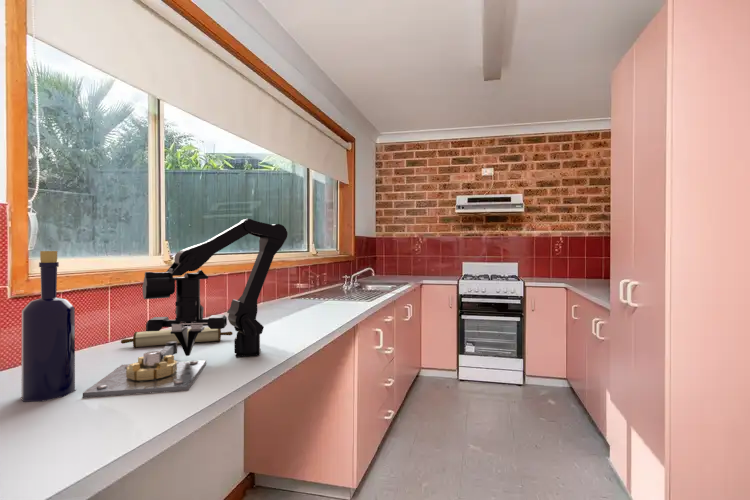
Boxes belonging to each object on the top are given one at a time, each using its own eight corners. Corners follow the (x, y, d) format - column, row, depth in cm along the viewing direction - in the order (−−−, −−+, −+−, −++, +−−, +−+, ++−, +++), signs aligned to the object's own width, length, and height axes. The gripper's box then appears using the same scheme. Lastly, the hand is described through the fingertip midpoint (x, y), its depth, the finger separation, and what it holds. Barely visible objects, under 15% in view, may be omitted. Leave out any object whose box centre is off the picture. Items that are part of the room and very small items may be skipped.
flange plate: (206, 363, 105) (206, 341, 105) (188, 390, 85) (188, 362, 85) (122, 368, 101) (122, 345, 100) (82, 397, 81) (82, 368, 81)
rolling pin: (232, 338, 135) (232, 324, 135) (232, 342, 130) (232, 327, 130) (123, 346, 124) (123, 330, 124) (118, 351, 119) (118, 334, 119)
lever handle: (192, 352, 111) (192, 340, 111) (169, 378, 89) (169, 362, 89) (153, 354, 109) (153, 342, 109) (120, 381, 87) (120, 365, 87)
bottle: (86, 389, 86) (86, 251, 86) (38, 404, 77) (38, 251, 77) (57, 384, 89) (57, 250, 89) (8, 398, 80) (8, 251, 80)
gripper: (229, 292, 115) (229, 346, 115) (159, 293, 111) (158, 349, 111) (223, 297, 104) (223, 356, 104) (145, 298, 100) (145, 360, 100)
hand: (188, 355), depth 105 cm, fingers closed
